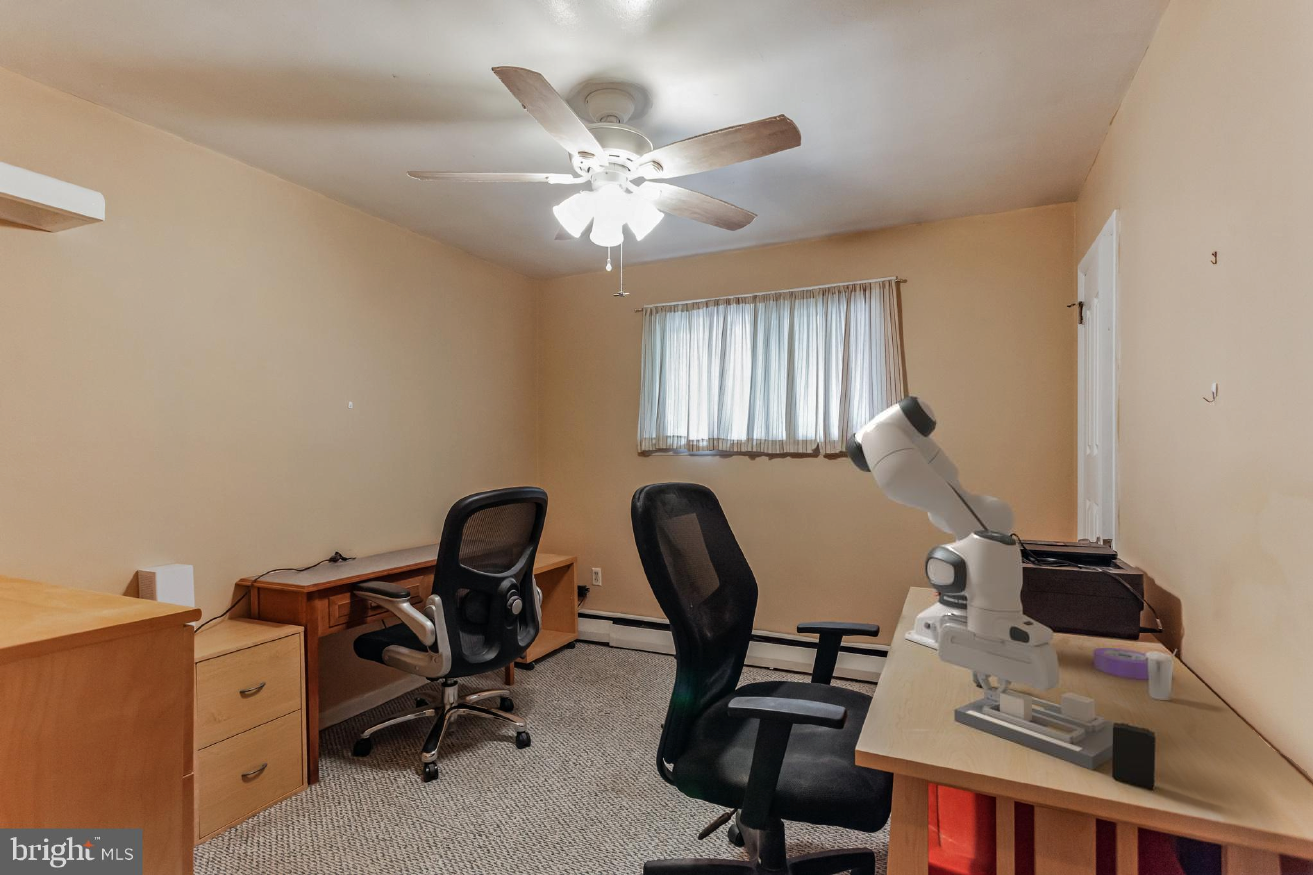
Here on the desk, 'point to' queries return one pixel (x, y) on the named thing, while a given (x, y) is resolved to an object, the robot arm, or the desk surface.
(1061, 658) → the desk surface
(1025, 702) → the switch tab
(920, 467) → the robot arm
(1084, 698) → the switch tab
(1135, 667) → the masking tape
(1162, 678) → the milkshake
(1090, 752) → the switch panel
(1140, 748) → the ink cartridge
